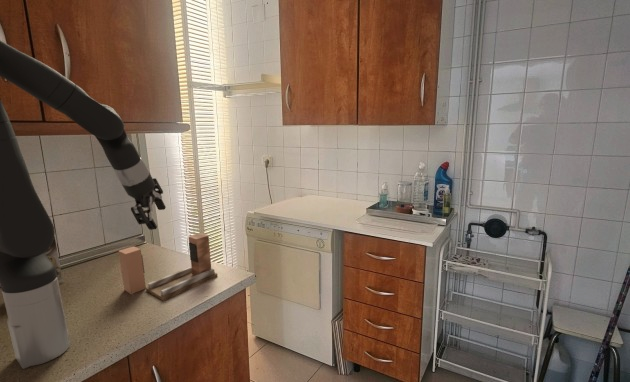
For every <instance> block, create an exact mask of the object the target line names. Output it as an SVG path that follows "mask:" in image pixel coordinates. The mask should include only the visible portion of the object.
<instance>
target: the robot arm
mask: <svg viewBox="0 0 630 382" xmlns="http://www.w3.org/2000/svg"><path fill="white" fill-rule="evenodd" d="M0 77H1V78H3V79H4V80H6V81H8V82H9V83H11V84H13V85H14V86H16V87H18V88H19V89H20V90H23V91H24V92H26V93H27V94H28V95H31V96H32V97H34V98H36V99H37V100H39V101H40V102H42V103H44V104H45V105H47V106H48V107H51V108H52V109H54V110H55V111H57V112H59V113H61V114H62V115H65V116H66V117H67V118H69V119H70V120H72V121H73V122H74V123H76V124H77V125H78V126H80V127H81V128H82V129H83V130H85V131H86V132H88V133H89V134H91V135H93V136H95V138H96V139H97V141H98V143H99V144H100V146H101V147H102V149H103V152H104V154H105V156H106V158H107V160H108V161H109V162H108V163H110V166H111V167H112V169H113V171H114V173H115V176H116V177H117V179H118V181H119V182H120V184H121V186H122V188H123V189H124V191H125V192H126V194H127V195H128V196H129V197H130V198H133V199H134V202H135V205H134V206H131V208H130V211H131V212H132V215H133V216H134V218H135V221H136V222H137V224H138V225H146V227H147V229H148V230H150V231H153V230H157V228H158V226H157V223H156V221H154V219H153V217H152V215H153V214H152V213H153V211H154V210H153V204H155V206H156V208H157V209H158V211H164V210H165V209H166V205H165V203H164V201H163V196H162V194H164V190H163V189H162V187H161V185H160V183H159V182H158V179H157V177H156V178H153V176H152V175H151V173H150V171H149V168H148V166H147V164H146V163H145V162H144V160H143V159H142V158H141V156H140V154H139V152H138V150H137V148H136V146H135V144H134V143H133V142H132V141H131V139H130V138H129V136H128V135H127V132H126V130H125V125H124V121H123V119H122V117H121V116H120V115H119V113H118V112H117V111H116V110H115V109H114V108H113V107H111V106H109V105H107V104H103V103H100V102H98V101H97V100H96V99H94V98H92V97H91V95H88V93H87V92H86V91H85V90H84V89H83V88H82V87H80V86H79V85H77V84H76V83H74V82H73V81H71V80H70V79H69V78H67V77H66V76H65V75H63V74H61V73H60V72H58V71H57V70H55V69H54V68H53V67H50V66H49V65H47V64H46V63H43V62H42V61H40V60H38V59H36V58H35V57H32V56H30V55H28V54H26V53H24V52H22V51H21V50H18V49H17V48H14V47H13V46H12V45H9V44H8V43H6V42H4V41H3V40H1V39H0ZM145 209H146V210H145ZM52 221H53V220H51V217H50V216H49V214H48V212H47V210H46V208H45V206H44V204H43V203H42V201H41V199H40V197H39V196H38V193H37V191H36V189H35V186H34V184H33V182H32V179H31V176H30V173H29V170H28V167H27V165H26V161H25V159H24V156H23V153H22V150H21V149H20V145H19V143H18V138H17V136H16V132H15V131H14V128H13V125H12V123H11V120H10V117H9V116H8V113H7V112H6V109H5V107H4V104H3V102H2V100H1V98H0V288H1V293H2V297H3V301H4V306H5V309H6V314H7V320H6V322H7V327H8V332H9V335H10V340H11V343H12V347H13V352H14V357H15V360H16V361H17V362H18V364H19V366H20V367H21V369H23V370H25V369H27V368H29V367H33V366H38V365H42V364H45V363H48V362H50V361H52V360H54V359H56V358H57V357H59V356H61V355H62V354H64V353H65V352H66V351H67V350H68V349H69V347H70V345H71V341H70V334H69V330H68V325H67V319H66V315H65V310H64V305H63V304H64V303H63V300H62V294H61V289H60V284H59V283H58V278H57V273H56V268H55V266H54V264H53V263H52V262H51V261H50V260H49V258H48V257H47V255H46V254H45V251H47V250H48V249H49V247H50V246H51V245H52V243H53V240H54V236H55V232H56V231H55V225H54V223H53V222H52Z"/></svg>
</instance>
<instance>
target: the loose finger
mask: <svg viewBox="0 0 630 382" xmlns="http://www.w3.org/2000/svg"><path fill="white" fill-rule="evenodd" d="M118 256H119V263H120V264H119V265H120V270H121V277H122V284H123V290H124V291H125V292H127V293H128V294H130V295H133V294H135V293H138V292H140V291H142V290H146V288H147V287H146V279H145V268H144V267H145V265H144V259H143V253H142V250H141V249H140V248H138V247H136V246H134V245H133V246H129V247H127V248H123V249H119V250H118Z"/></svg>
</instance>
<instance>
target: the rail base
mask: <svg viewBox="0 0 630 382" xmlns="http://www.w3.org/2000/svg"><path fill="white" fill-rule="evenodd" d="M188 247H189V249H188V250H189V258H190V265H191V266H189V267H186V268H184V269H181V270H178V271H176V272H173V273H170V274H168V275H166V276H163V277H160V278H159V279H156V280H153V281H150V282H148V283H147V285H148V286H147V287H146V288H145V291H146V292H147V293H150V294H151V295H153V296H154V297H156V298H158V299H160V300H161V301H162V302H164V301H167V300H168V299H170V298H172V297H175V296H178V295H179V294H182V293H184V292H186V291H188V290H191V289H192V288H195V287H198V286H199V285H201V284H203V283H206V282H208V281H210V280H212V279H215V278H216V277H218V273H217V272H215V269H214V268H212V262H211V261H212V260H211V250H210V249H211V248H210V237H209V234H205V233H203V232H199V233H195V234H193V235H189V236H188Z"/></svg>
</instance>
